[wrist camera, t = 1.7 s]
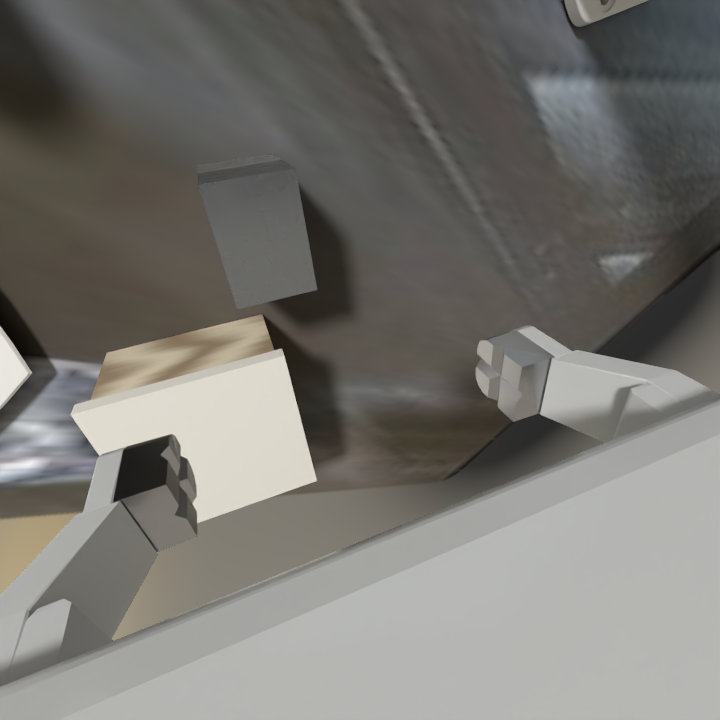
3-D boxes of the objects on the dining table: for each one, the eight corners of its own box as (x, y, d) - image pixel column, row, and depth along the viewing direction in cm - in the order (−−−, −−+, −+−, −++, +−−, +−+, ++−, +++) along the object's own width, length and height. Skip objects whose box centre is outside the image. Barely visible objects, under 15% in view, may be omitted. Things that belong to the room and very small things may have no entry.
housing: (271, 153, 27) (295, 168, 21) (292, 252, 31) (317, 289, 25) (196, 165, 26) (198, 184, 20) (228, 266, 30) (237, 309, 24)
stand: (266, 307, 33) (284, 355, 26) (297, 421, 40) (316, 480, 34) (96, 349, 30) (70, 414, 24) (163, 463, 37) (157, 537, 31)
